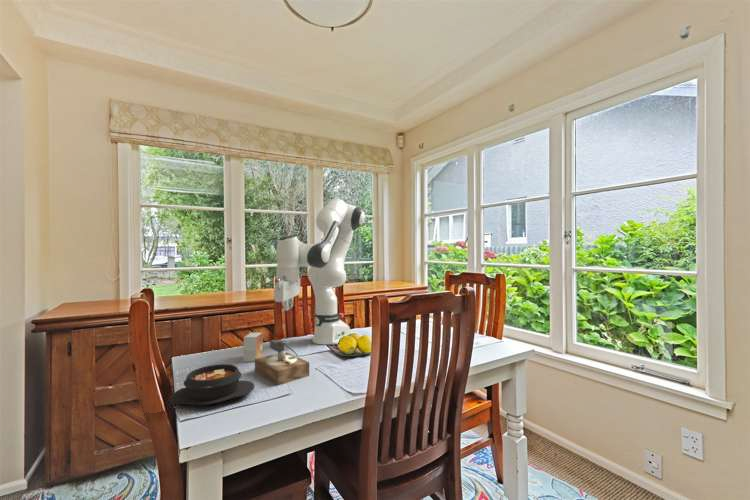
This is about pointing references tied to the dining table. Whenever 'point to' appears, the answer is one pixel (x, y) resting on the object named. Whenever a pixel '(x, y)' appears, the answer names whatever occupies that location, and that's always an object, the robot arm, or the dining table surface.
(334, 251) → the robot arm
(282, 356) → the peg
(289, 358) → the dial block
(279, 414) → the dining table surface
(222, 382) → the casserole
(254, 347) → the small box
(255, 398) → the dining table surface
